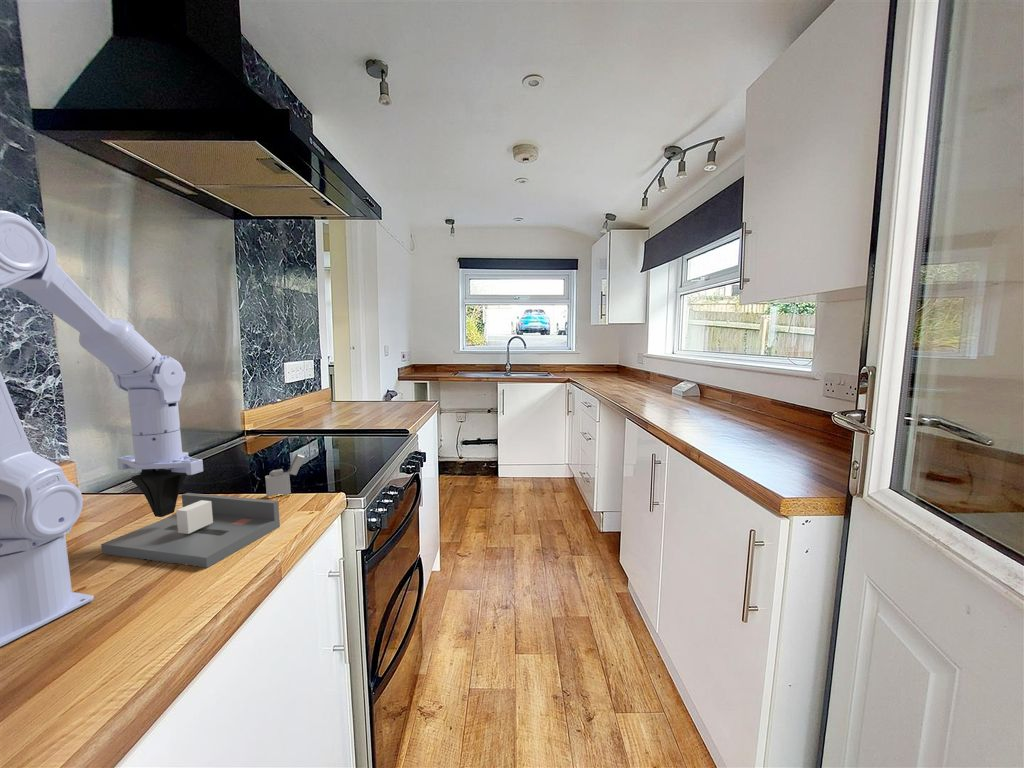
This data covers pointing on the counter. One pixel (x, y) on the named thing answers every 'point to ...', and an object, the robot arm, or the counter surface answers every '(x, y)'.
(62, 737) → the counter surface
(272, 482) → the lighter
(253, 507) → the switch panel
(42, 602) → the robot arm
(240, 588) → the counter surface
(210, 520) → the knob
